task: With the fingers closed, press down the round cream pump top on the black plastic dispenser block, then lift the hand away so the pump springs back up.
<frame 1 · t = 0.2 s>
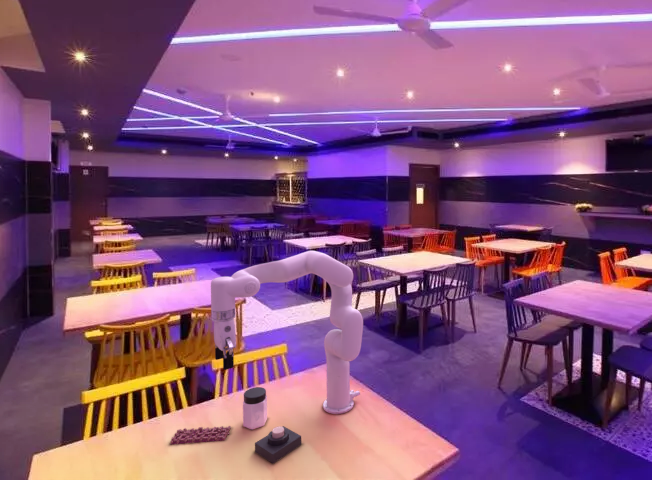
hand: (224, 363, 136), 31 cm above the table, tool pointing down, fingers open, 9 cm apart
pump: (278, 432, 138), point 6 cm above the table, slide at 0.1 cm
dispenser: (278, 448, 138), on the table
chocolate bar: (202, 437, 146), on the table
jar: (255, 423, 153), on the table
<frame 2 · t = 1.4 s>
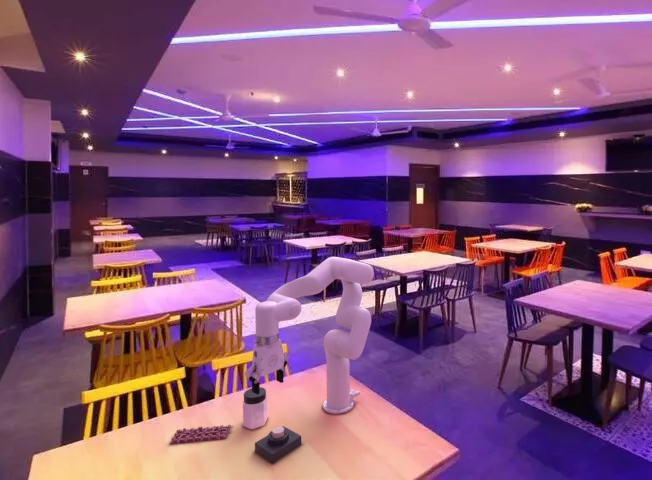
hand: (268, 387, 137), 22 cm above the table, tool pointing down, fingers open, 9 cm apart
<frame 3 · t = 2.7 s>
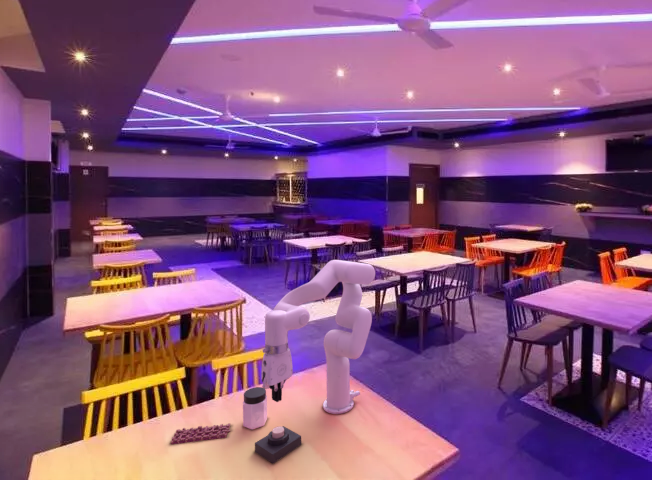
hand: (276, 399, 137), 17 cm above the table, tool pointing down, fingers closed
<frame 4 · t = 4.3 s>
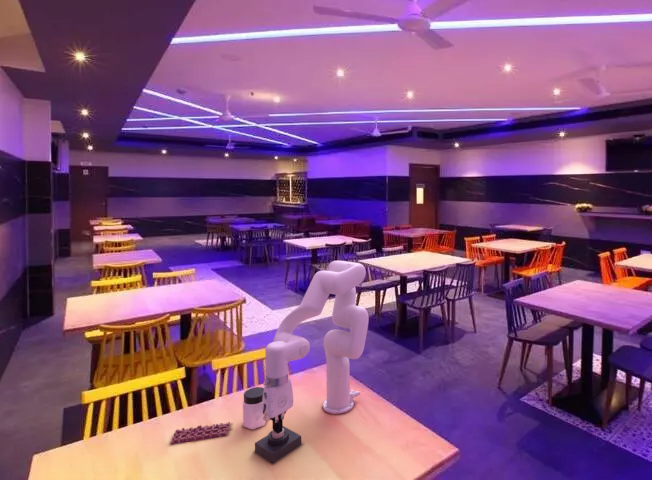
hand: (277, 430, 138), 6 cm above the table, tool pointing down, fingers closed
pump: (278, 433, 138), point 5 cm above the table, slide at -0.3 cm, touching gripper
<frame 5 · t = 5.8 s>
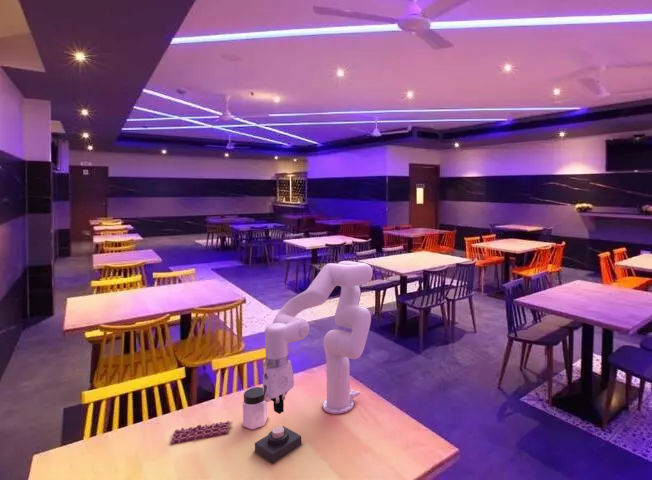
hand: (278, 411, 138), 13 cm above the table, tool pointing down, fingers closed
pump: (278, 432, 138), point 6 cm above the table, slide at 0.1 cm
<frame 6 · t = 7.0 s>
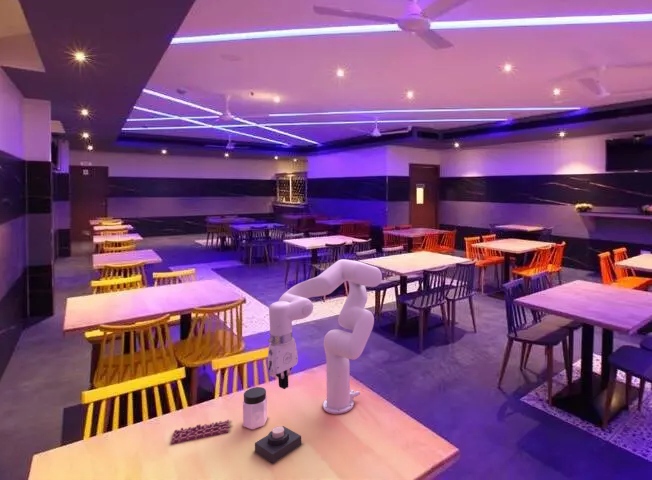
hand: (283, 387, 142), 19 cm above the table, tool pointing down, fingers closed
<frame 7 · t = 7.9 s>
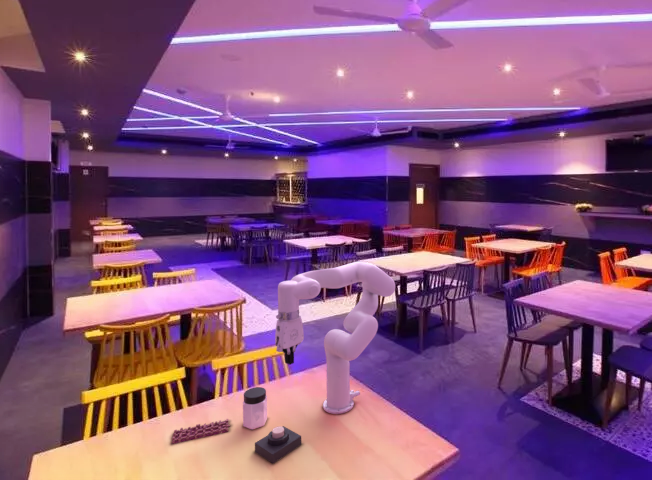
hand: (289, 363, 149), 25 cm above the table, tool pointing down, fingers closed
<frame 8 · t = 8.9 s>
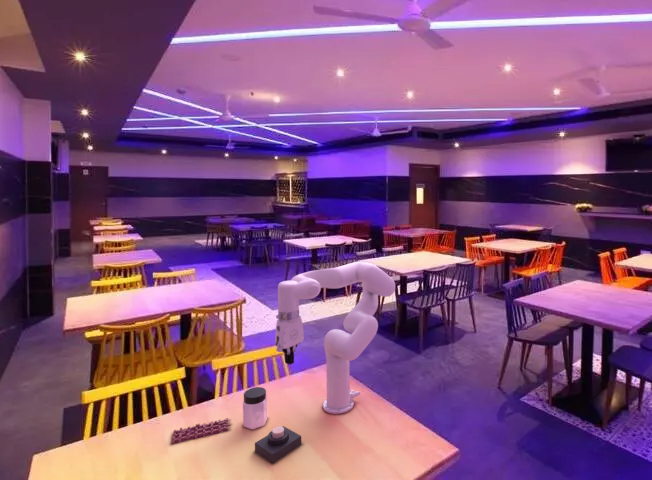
hand: (289, 362, 149), 25 cm above the table, tool pointing down, fingers closed
at the end: pump pushed in 1.1 cm at the most during the clip and back out by the end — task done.
